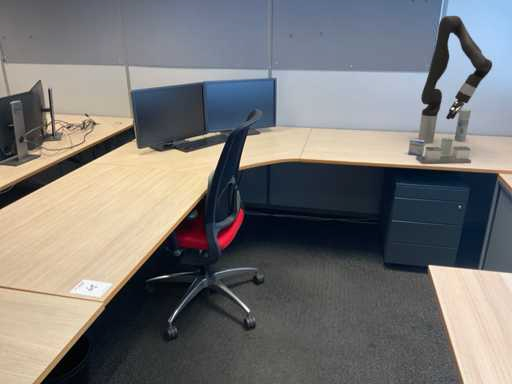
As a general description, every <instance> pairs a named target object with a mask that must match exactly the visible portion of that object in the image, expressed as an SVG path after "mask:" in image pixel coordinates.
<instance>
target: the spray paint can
mask: <svg viewBox="0 0 512 384" xmlns="http://www.w3.org/2000/svg"><path fill="white" fill-rule="evenodd" d="M471 112H472V110H471V109H470V108H469V109H468V108H461V110H460V112H459V113H458V117H457V124H456V129H455V134H454V141H455V142H466V137H467V132H468V128H469V127H468V126H469V123H470V122H469V121H470V117H471Z"/></svg>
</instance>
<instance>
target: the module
mask: <svg viewBox="0 0 512 384" xmlns="http://www.w3.org/2000/svg"><path fill="white" fill-rule="evenodd" d="M453 142H454V139H453V138H451V137H442V138H441V143H440V148H441V149H442V151H441V156H451V153H452V147H453Z"/></svg>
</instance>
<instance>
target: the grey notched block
mask: <svg viewBox="0 0 512 384" xmlns="http://www.w3.org/2000/svg"><path fill="white" fill-rule="evenodd" d="M441 151H442V149H441V147H439V146H426V147H424V154H423V155H424V156H423V155H422V156H416V155H415V157H416V158H415V159H416V160H417V161H418V162H419V163H420V164H422V165H436V164H437V165H439V164H440V165H443V164H447V165H448V164H472V159H470V153H471V148H470V147H468V146H453V150H452V155H441Z"/></svg>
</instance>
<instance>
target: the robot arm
mask: <svg viewBox="0 0 512 384" xmlns="http://www.w3.org/2000/svg"><path fill="white" fill-rule="evenodd" d="M451 34H454V35H455V36H456V38H458V40H459V44H460V47H461V50H462V52H463V54H464V55H465V57H467V58H468V59H469V61H470V63H471V64H472V66H473V68H474V69H475V70H474V71H473V73H471V74H469V75H468V76H467V78H466V79H465V81H464V82H463V84H462V85H461V87H460V88H459V90H458V91H457V92H456V95H455V99H456V101H453V103H452V105H451V106H450V108H449V109H448V113H447V114H446V116H445V119H447V120H450V119H452V120H454V119H455V117H456V116H457V114H459V112H460V110H461V109H463V106H464V105H465V104H468V103H469V101H470V100H471V98H472V97H473V95H474V94H475V92H476V90H477V88H478V87H479V86H480V83H481V82H482V81H483V79H484V78H485V77H486V76H487V75H488V74H489V72H490V71H491V70H492V68H493V62H492V60H490V59H488V58H486V57H485V56H484V54H483V53H482V52H483V51H482V50H481V48H480V47H479V46H478V44H476V42H475V41H474V40H473V38H472V36H471V35H470V33H469V32H468V30H467V27H465V24H464V22H463V20H462V19H461V18H460V16H457V15H445V16H444V17H442V18H441V19H440V22H439V24H438V30H437V36H436V43H435V47H434V51H433V55H432V58H431V62H430V67H429V71H428V74H427V78H426V81H425V84H424V87H423V90H422V93H421V97H420V98H421V103H422V104H424V105H427V106H426V107H425V108H423V109H422V111H421V118H420V122H419V123H420V124H419V129H418V132H419V133H418V137H417V138H418V139H417V140H425V144H432V143H434V140H435V139H434V138H435V132H436V126H437V121H438V114H439V112H440V110H441V104H442V99H443V92H442V90H441V89H439V88H436V86H437V83H438V81H439V80H440V78H441V77H442V76H443V75H444V73H445V72H446V70H447V68H448V64H449V62H450V61H449V60H450V51H449V46H448V45H449V39H450V35H451Z"/></svg>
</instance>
